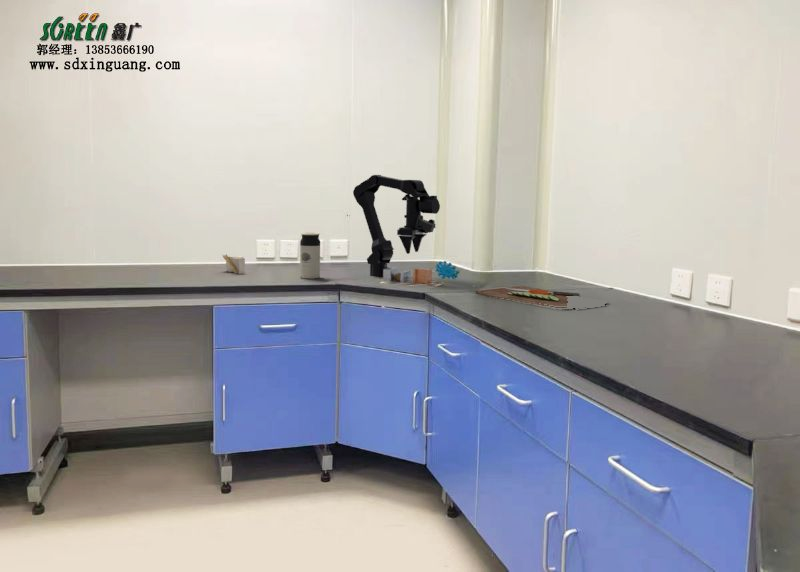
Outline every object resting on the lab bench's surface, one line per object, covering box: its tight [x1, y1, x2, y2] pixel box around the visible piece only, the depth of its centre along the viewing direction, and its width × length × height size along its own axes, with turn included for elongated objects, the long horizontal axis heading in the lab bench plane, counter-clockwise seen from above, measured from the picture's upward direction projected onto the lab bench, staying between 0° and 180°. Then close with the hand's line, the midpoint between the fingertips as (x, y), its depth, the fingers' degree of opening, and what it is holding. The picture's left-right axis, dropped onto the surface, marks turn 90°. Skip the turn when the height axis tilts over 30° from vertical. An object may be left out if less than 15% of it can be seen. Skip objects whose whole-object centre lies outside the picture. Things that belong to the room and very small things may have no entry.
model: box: [222, 254, 246, 275], centre depth 282 cm, size 3×11×8 cm, turn 57°
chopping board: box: [475, 285, 581, 308], centre depth 237 cm, size 45×27×3 cm, turn 38°
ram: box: [400, 267, 433, 285], centre depth 256 cm, size 10×7×5 cm
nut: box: [395, 272, 401, 282], centre depth 259 cm, size 4×4×4 cm
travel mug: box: [299, 232, 321, 280], centre depth 272 cm, size 8×8×18 cm
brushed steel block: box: [382, 266, 400, 284], centre depth 260 cm, size 3×8×5 cm, turn 158°
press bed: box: [379, 280, 444, 289], centre depth 257 cm, size 22×12×2 cm, turn 68°
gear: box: [435, 260, 461, 280], centre depth 279 cm, size 11×6×10 cm
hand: (412, 252), depth 264 cm, fingers open, 9 cm apart
